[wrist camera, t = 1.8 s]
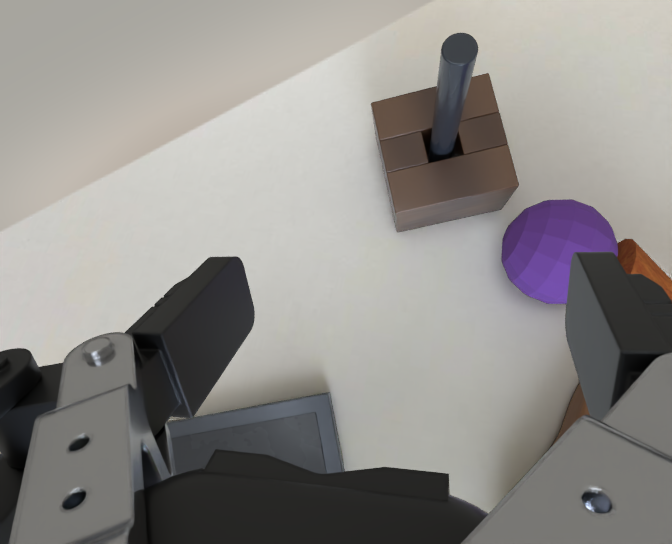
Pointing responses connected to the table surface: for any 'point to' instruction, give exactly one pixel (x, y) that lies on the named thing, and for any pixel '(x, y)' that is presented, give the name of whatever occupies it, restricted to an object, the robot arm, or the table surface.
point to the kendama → (565, 249)
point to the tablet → (263, 434)
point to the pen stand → (449, 174)
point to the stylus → (451, 93)
